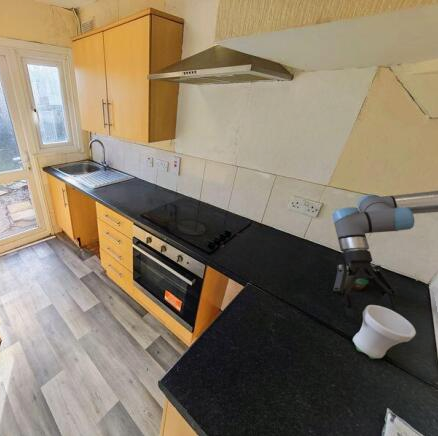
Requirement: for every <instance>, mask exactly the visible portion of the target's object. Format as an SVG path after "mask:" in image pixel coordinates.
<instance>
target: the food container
mask: <svg viewBox="0 0 438 436" xmlns="http://www.w3.org/2000/svg"><path fill="white" fill-rule="evenodd" d="M371 265H372V266H374V265H373V264H372V263H371ZM347 274H348V272H347ZM346 278H347V277H346ZM368 283H370V282H369V281H368V280H366V279H357V280H356V281H355V283H354V285H353V287H352V289H351V290H356V291H361V290H363V289H364V288H365V287H366V286H367V285H368Z"/></svg>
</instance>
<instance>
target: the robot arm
mask: <svg viewBox="0 0 438 436" xmlns="http://www.w3.org/2000/svg"><path fill="white" fill-rule="evenodd" d="M431 213H438V190H430V191H421V192H413V193H403V194H394V195H383V196H380V195H377V194H372V193H371V194H370V193H369V194H366V195H363V196H361V197H360V198H359V199H358V201H357V207H356V206H352V207H350V206H348V207H347V206H346V207H342V208H338V209H336V210H334V211H333V212H332V218H333V225H334V228H335V233H336V237H337V240H338V244H339V250H340V251H341V257H342V262H343V264H337V265H336V271H337V272H336V276H335V281H334V285H333V290H332V292H333V293H335V294H337V295H338V296H340V299H341V303H342V306H344V311H345V314H346V317H349V318H357V317H358V316H357V312H356V307H355V303H354V300H353V295H350V293H351V291H352V290H353V289H352V287H353V285H354V283H355V281H356V280H357V279H366V280H368V281H369V282H368V283H370V284H371V285H372V286H373V287H374V288H375V289H376V290H377V291H378V292H379V293H380V294H381V295H380V299H381V303H382V307H385V308H387V309H390V310H392V311H394V312H396V313H397V311H396V305H395V301H394V298H393V297H396V296H397V295H398V294H399V291H398V290H397V288H396V287H395V286H394V285H393V283H392V281H391V280H390V279H389V277H388V276H387V274H385V272H384V270H383V268H382V266H381V265H380V264H379V265H377V264H376V265H373V264H372V262H373V257H372V253H371V251H370V245H369V242H368V239H367V235H366V234H373V233H388V232H399V231H407V230H411V229H413V228H414V226H415V216H414V215H416V214H417V215H418V214H431ZM371 264H372V265H373V266H372V265H371ZM347 273H348V274H347ZM346 277H347V278H346Z"/></svg>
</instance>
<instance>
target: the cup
mask: <svg viewBox="0 0 438 436" xmlns="http://www.w3.org/2000/svg"><path fill="white" fill-rule="evenodd" d="M416 334H417V331H416V328H415V327H414V325H413V324H412V323H411V322H410V321H409V320H407V318H405V317H403V316H402V315H401V314H399V313H397V311H396V312H394V311H392V310H390V309H387V308H385V307H383V306H381V305H376V304H369V305H367V306H366V307H365V308H364V309H363V311H362V323H361V327H360V329H359V331H358V332H357V333H355V335H354V336H353V338H352V340H351V341H352V342H353V343H354V345H355V348H356V350H357V351H358V352H360V353H363V354H365V355H367V356H368V357H369V358H370V359H372V360H376V359H383V357H384V356H385V355H386V353H387V351H388V350H389V349H391V348H392V347H393V346H396V345H398V344H401V343H408V342H409V341H411V340H412V339H413V338H415V336H416Z"/></svg>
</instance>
